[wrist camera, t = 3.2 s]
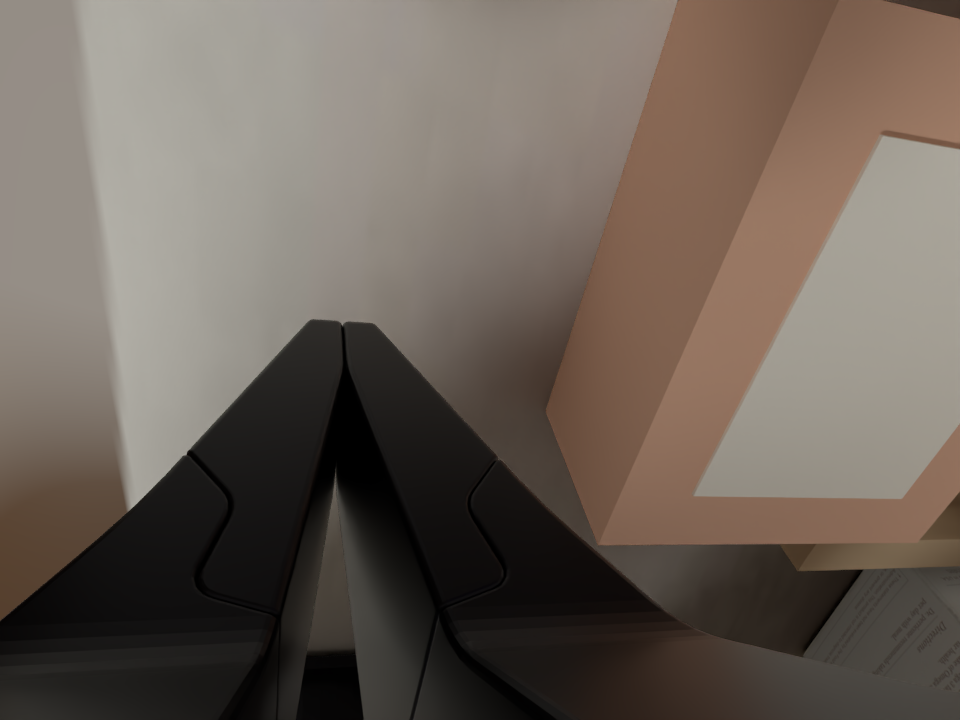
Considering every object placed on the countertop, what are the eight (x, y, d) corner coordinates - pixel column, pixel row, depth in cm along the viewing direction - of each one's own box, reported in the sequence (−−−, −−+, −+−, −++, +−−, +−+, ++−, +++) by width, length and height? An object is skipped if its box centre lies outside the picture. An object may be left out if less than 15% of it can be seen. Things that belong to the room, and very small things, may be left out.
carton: (542, 404, 17) (599, 548, 13) (686, -47, 12) (846, -10, 8) (807, 417, 19) (919, 545, 16) (1036, 39, 14) (1290, 100, 10)
